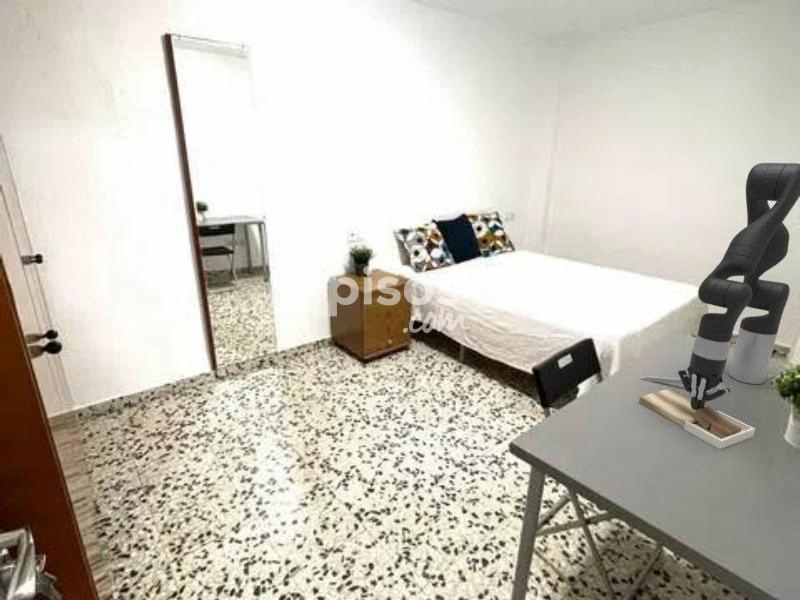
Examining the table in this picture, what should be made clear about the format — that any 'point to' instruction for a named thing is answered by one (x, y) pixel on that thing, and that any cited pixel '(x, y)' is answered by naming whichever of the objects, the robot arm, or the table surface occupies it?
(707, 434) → the tray
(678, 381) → the caliper
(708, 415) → the brown square block
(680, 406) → the beige square panel
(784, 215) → the robot arm
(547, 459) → the table surface
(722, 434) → the tile front
